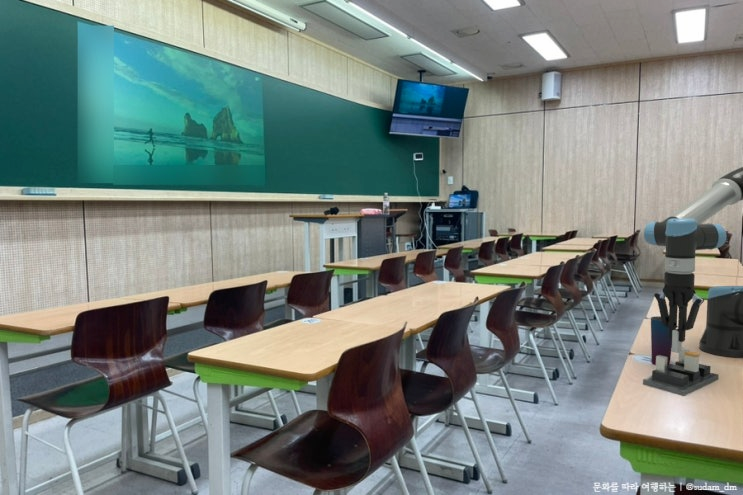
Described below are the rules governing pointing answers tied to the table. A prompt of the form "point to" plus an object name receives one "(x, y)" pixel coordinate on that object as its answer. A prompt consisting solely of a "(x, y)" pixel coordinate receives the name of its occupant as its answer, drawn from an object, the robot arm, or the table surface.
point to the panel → (679, 376)
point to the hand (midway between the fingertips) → (676, 351)
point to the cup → (660, 340)
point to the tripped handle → (691, 361)
